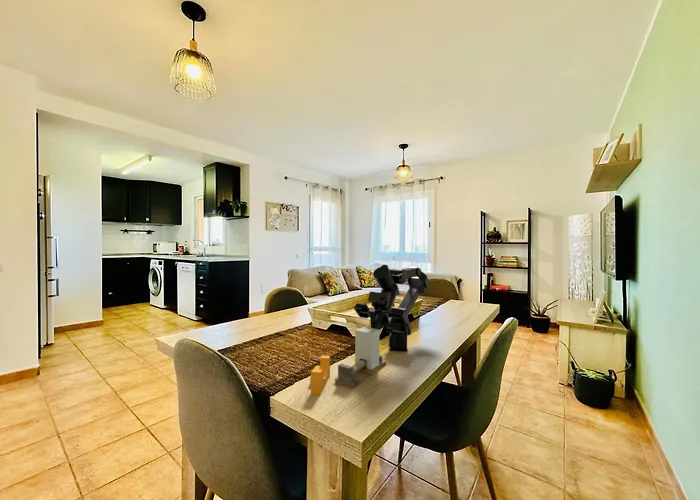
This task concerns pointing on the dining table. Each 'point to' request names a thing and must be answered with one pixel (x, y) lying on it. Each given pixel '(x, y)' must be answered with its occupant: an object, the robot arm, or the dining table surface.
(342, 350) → the dining table surface
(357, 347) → the sleeve
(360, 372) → the pipe rig
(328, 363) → the pipe clamp
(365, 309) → the robot arm
